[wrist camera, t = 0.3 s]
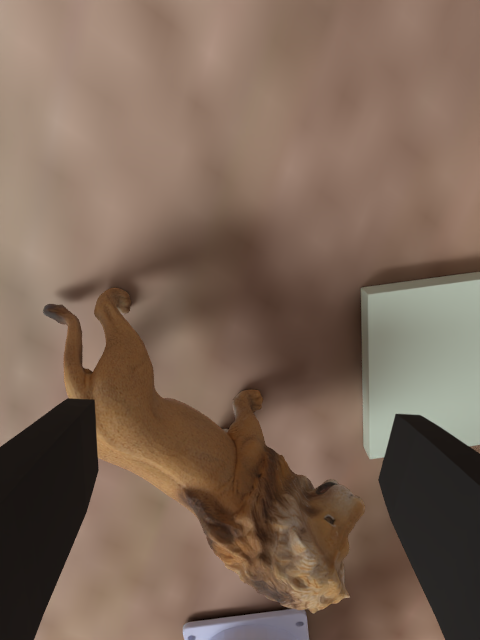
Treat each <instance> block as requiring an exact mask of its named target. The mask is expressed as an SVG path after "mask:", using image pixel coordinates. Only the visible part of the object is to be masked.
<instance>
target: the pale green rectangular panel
mask: <svg viewBox="0 0 480 640" xmlns="http://www.w3.org/2000/svg"><path fill="white" fill-rule="evenodd" d="M361 328H362V385H363V441H364V448H365V450H366V452H367V455H368V457H369V459H375V458H383V457H384V456H385V453H386V449H387V445H388V441H389V437H390V433H391V430H392V426H393V422H394V418H395V414H412V415H421V416H423V417H425V418H426V419H428V420H430V421H431V422H433V423H435V424H436V425H438V426H439V427H441V428H442V429H444V430H445V431H447V432H448V433H450V434H451V435H453V436H454V437H456V438H457V439H459V440H460V441H462V442H463V443H465V444H466V445H467V446H474V445H480V272H473V273H465V274H458V275H451V276H443V277H436V278H428V279H421V280H413V281H406V282H399V283H391V284H384V285H376V286H369V287H361Z"/></svg>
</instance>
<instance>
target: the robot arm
mask: <svg viewBox="0 0 480 640" xmlns="http://www.w3.org/2000/svg"><path fill="white" fill-rule="evenodd" d="M97 473H98V452H97V433H96V415H95V400H93V399H72V398H68V399H66V400H65V401H63V402H62V403H60V404H59V405H57V406H56V407H55V408H53V409H52V410H51V411H49V412H48V413H47V414H45V415H44V416H42V417H41V418H40V419H38V420H37V421H36V422H34V423H33V424H32V425H30V426H29V427H28V428H26V429H25V430H23V431H22V432H21V433H19V434H18V435H16V436H15V437H14V438H12V439H11V440H9V441H8V442H7V443H5V444H4V445H2V446H1V447H0V640H34V638H35V635H36V633H37V630H38V627H39V625H40V622H41V620H42V617H43V614H44V612H45V609H46V607H47V605H48V602H49V600H50V598H51V595H52V593H53V591H54V588H55V586H56V583H57V581H58V579H59V576H60V574H61V572H62V569H63V567H64V565H65V562H66V560H67V557H68V555H69V553H70V550H71V548H72V546H73V543H74V541H75V538H76V536H77V534H78V531H79V529H80V526H81V524H82V522H83V519H84V517H85V514H86V512H87V509H88V505H89V502H90V498H91V495H92V492H93V488H94V484H95V481H96V477H97ZM378 480H379V484H380V487H381V490H382V494H383V497H384V501H385V504H386V507H387V510H388V513H389V516H390V519H391V521H392V524H393V526H394V528H395V530H396V533H397V535H398V537H399V539H400V541H401V543H402V546H403V548H404V550H405V552H406V554H407V557H408V559H409V561H410V563H411V565H412V567H413V569H414V572H415V574H416V576H417V578H418V580H419V582H420V584H421V587H422V589H423V591H424V593H425V595H426V597H427V599H428V602H429V604H430V606H431V608H432V610H433V612H434V614H435V616H436V619H437V621H438V623H439V626H440V628H441V630H442V633H443V635H444V638H445V640H480V454H479V453H478V452H476V451H475V450H473V449H472V448H470V447H469V446H467V445H466V444H465V443H463V442H462V441H460V440H459V439H457V438H456V437H454V436H453V435H451V434H450V433H448V432H447V431H445V430H444V429H442V428H441V427H439V426H438V425H436V424H435V423H433V422H431V421H430V420H428V419H426V418H425V417H423V416H421V415H412V414H395V418H394V422H393V426H392V430H391V433H390V437H389V441H388V445H387V449H386V453H385V456H384V460H383V464H382V468H381V472H380V476H379V479H378ZM183 636H184V639H185V640H309V634H308V624H307V615H306V611H305V610H297V609H287V610H279V611H271V612H263V613H256V614H248V615H240V616H232V617H224V618H217V619H209V620H201V621H193V622H188V623H186V624H184V626H183Z"/></svg>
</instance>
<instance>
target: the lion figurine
mask: <svg viewBox="0 0 480 640" xmlns="http://www.w3.org/2000/svg"><path fill="white" fill-rule="evenodd" d="M130 305H131V300H130V297H129V294H128V293H127V292H126V291H124V290H122V289H119V288H111V289H108V290H106V291H105V292H104V293H102V294H101V295H100V296H99V298H98V299H97V302H96V306H95V310H94V314H95V316H96V317H97V319H98V320H99V321H100V322H101V324H102V326H103V329H104V332H105V338H106V347H105V350H104V353H103V355H102V356H101V358H100V360H99V362H98V364H97V366H96V367H95V369H94V371H93V372H92V371H90V370H89V369H85V368H83V366H82V331H81V326H80V322H79V319H78V318H77V317H76V316H75V315H73V314H72V313H71V312H70V311H68V310H67V309H66V308H65V307H64V306H63V305H55V304H48V305H46V306H45V307H44V309H43V313H44V315H46V316H48V317H50V318H52V319H54V320H56V321H57V322H58V323H60V324H66V325H68V332H67V339H66V344H65V352H64V381H65V387H66V391H67V394H68V397H69V398H72V399H93V400H95V415H96V433H97V452H98V458H100V459H102V460H104V461H107V462H109V463H112V464H114V465H117V466H120V467H122V468H125V469H127V470H129V471H131V472H133V473H135V474H137V475H139V476H140V477H142V478H144V479H145V480H147V481H149V482H150V483H151V484H153V485H154V486H156V487H157V488H158V489H160V490H161V491H163V492H164V493H165V494H167V495H168V496H170V497H171V498H173V499H174V500H176V501H178V502H179V503H180V504H182V505H183V506H185V507H186V508H187V509H188V510H190V511H191V512H192V513H193V514H194V515H195V516H196V517H197V518H198V519H199V521H200V523H201V525H202V528H203V531H204V533H205V534H206V536H207V540H208V543H209V545H210V547H211V549H212V550H213V551H214V553H215V554H216V555H217V556H218V557H219V558H220V559H221V560H222V561H223V562H224V563H225V566H226V567H227V568H228V569H229V570H232V571H234V572H235V573H237V574H238V575H239V577H240V580H241V581H242V582H244V583H247V584H248V585H250V586H252V587H254V589H255V590H256V591H257V592H258V593H260V594H262V595H266V597H267V598H268V599H270V600H272V601H277V602H279V603H280V604H281V605H282V606H285V607H288V608H292V609H297V610H304V609H308V610H309V611H310V612H311V613H316V612H317V611H319V610H322V609H325V608H326V607H327V606H329V605H330V604H336V603H338V602H340V601H341V600H342V599H343V598H350V595H349V593H348V592H347V590H346V588H345V582H344V573H345V570H344V564H343V559H344V558H345V557H346V556H347V554H348V552H349V543H348V535H349V533H350V532H351V530H352V529H353V527H354V526H355V524H356V522H357V521H358V520H359V519H360V517H361V516H362V515H363V514H364V511H365V505H364V503H363V501H362V500H361V499H360V498H359V497H358V496H355V495H353V494H352V493H351V492H350V490H348V489H347V488H346V487H344V486H342V485H340V484H339V483H337V482H336V481H335V480H332V479H330V480H327V481H325V482H324V483H323V484H322V485H320V486H319V487H318V488H316V489H314V487H313V485H312V483H311V481H310V480H309V479H308V478H307V477H306V476H303V475H297V474H295V473H293V472H292V471H291V470H290V468H289V466H288V464H287V462H286V461H285V459H284V457H283V456H282V455H279V454H278V453H276V452H275V451H274V450H273V449H271V448H269V447H267V446H266V445H265V441H264V437H263V433H262V430H261V427H260V424H259V422H258V420H257V418H256V417H255V415H254V414H253V412H255V411H256V410H259V409H261V407H262V405H261V404H262V402H263V398H262V396H261V394H260V391H259V390H254V389H249V390H245V391H242V392H240V393H239V394H238V395H237V396H236V397H235V399H233V411H234V414H235V421H234V422H233V423H232V424H231V425H230V427H229V429H221V428H220V427H219V426H218V425H217V424H215V423H214V422H213V421H212V420H211V419H209V418H208V417H207V416H205V415H204V414H202V413H200V412H199V411H197V410H195V409H194V408H192V407H190V406H188V405H187V404H185V403H182V402H180V401H177V400H174V399H171V398H162V397H161V396H160V395H159V394H158V393H157V392H156V390H155V387H154V374H153V367H152V364H151V361H150V358H149V355H148V353H147V350H146V348H145V346H144V343H143V341H142V340H141V338H140V337H139V335H138V334H137V333H136V331H135V330H134V329H133V328H132V327H131V325H130V324H129V323H128V322H127V321H126V319H125V318H124V317H123V316H122V314H126V313H128V312H129V311H130Z"/></svg>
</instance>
